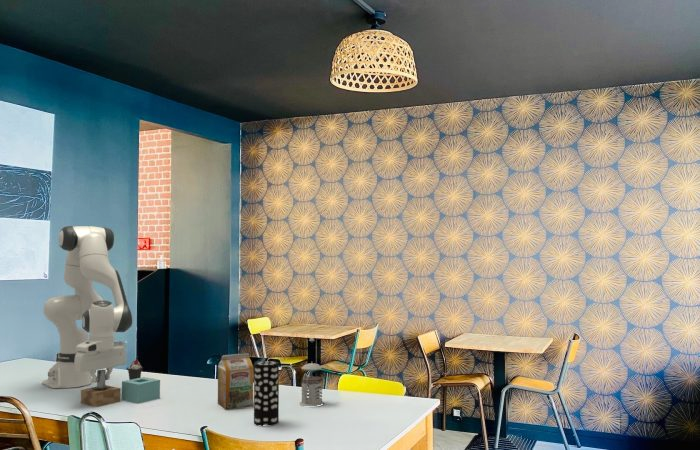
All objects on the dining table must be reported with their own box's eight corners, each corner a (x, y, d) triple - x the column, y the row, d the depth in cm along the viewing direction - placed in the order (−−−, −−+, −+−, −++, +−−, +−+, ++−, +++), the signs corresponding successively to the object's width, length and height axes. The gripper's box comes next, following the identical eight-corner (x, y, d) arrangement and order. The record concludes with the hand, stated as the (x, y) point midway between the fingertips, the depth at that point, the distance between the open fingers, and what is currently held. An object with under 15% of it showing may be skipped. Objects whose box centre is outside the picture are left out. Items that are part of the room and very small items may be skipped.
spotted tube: (254, 419, 210) (255, 361, 211) (278, 418, 211) (279, 360, 212) (252, 426, 202) (253, 365, 203) (278, 425, 203) (278, 365, 204)
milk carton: (225, 410, 223) (225, 357, 224) (217, 403, 233) (218, 353, 233) (253, 406, 228) (253, 355, 229) (244, 400, 237) (244, 351, 238)
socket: (80, 405, 229) (81, 389, 230) (104, 400, 237) (105, 384, 238) (96, 409, 224) (96, 393, 224) (120, 404, 232) (120, 388, 232)
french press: (328, 401, 235) (328, 336, 236) (317, 409, 224) (317, 340, 225) (305, 399, 238) (305, 335, 239) (292, 407, 227) (292, 339, 228)
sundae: (137, 394, 247) (138, 357, 248) (122, 394, 248) (123, 356, 249) (146, 391, 253) (146, 354, 254) (131, 390, 255) (132, 354, 255)
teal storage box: (121, 402, 235) (122, 381, 235) (143, 397, 243) (144, 377, 243) (137, 406, 229) (138, 384, 229) (159, 400, 237) (160, 379, 237)
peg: (94, 402, 230) (95, 370, 231) (102, 400, 233) (102, 369, 233) (99, 403, 228) (100, 371, 229) (106, 402, 231) (107, 370, 231)
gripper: (120, 340, 242) (120, 375, 241) (72, 346, 225) (71, 384, 225) (130, 341, 238) (129, 377, 238) (81, 348, 222) (81, 386, 221)
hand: (101, 380), depth 231 cm, fingers open, 3 cm apart
